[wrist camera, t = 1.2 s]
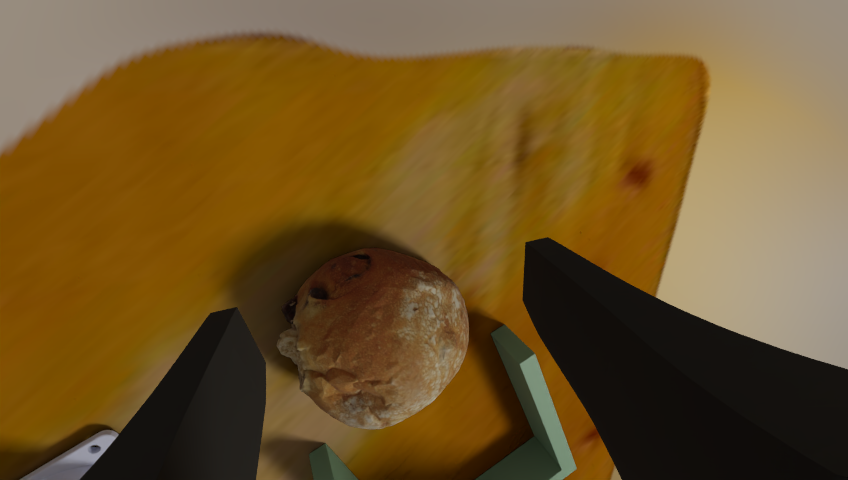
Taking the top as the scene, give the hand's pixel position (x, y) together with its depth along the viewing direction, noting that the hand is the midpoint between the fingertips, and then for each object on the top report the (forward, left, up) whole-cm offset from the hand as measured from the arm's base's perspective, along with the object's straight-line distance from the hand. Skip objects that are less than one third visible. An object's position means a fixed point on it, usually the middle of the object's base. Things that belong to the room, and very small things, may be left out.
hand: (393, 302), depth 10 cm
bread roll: (-1, -8, -12) cm, 15 cm away
